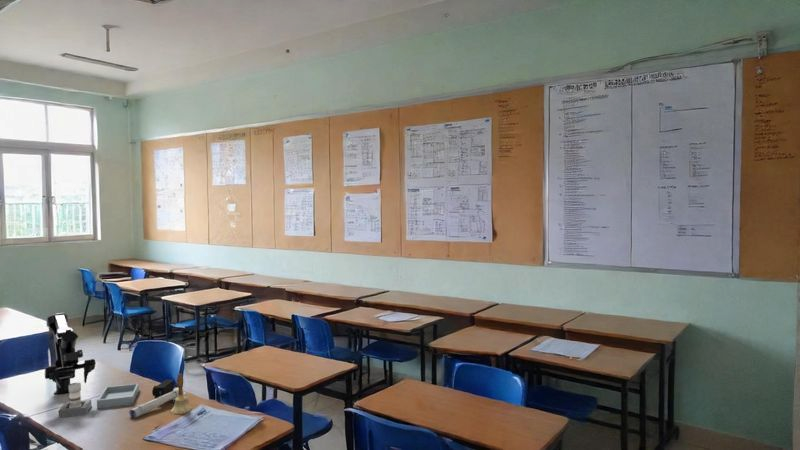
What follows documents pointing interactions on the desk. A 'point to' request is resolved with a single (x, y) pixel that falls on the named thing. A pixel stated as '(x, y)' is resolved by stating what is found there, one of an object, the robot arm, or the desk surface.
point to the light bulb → (75, 395)
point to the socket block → (74, 409)
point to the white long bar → (154, 403)
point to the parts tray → (118, 395)
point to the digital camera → (163, 388)
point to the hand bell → (180, 399)
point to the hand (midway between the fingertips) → (73, 385)
